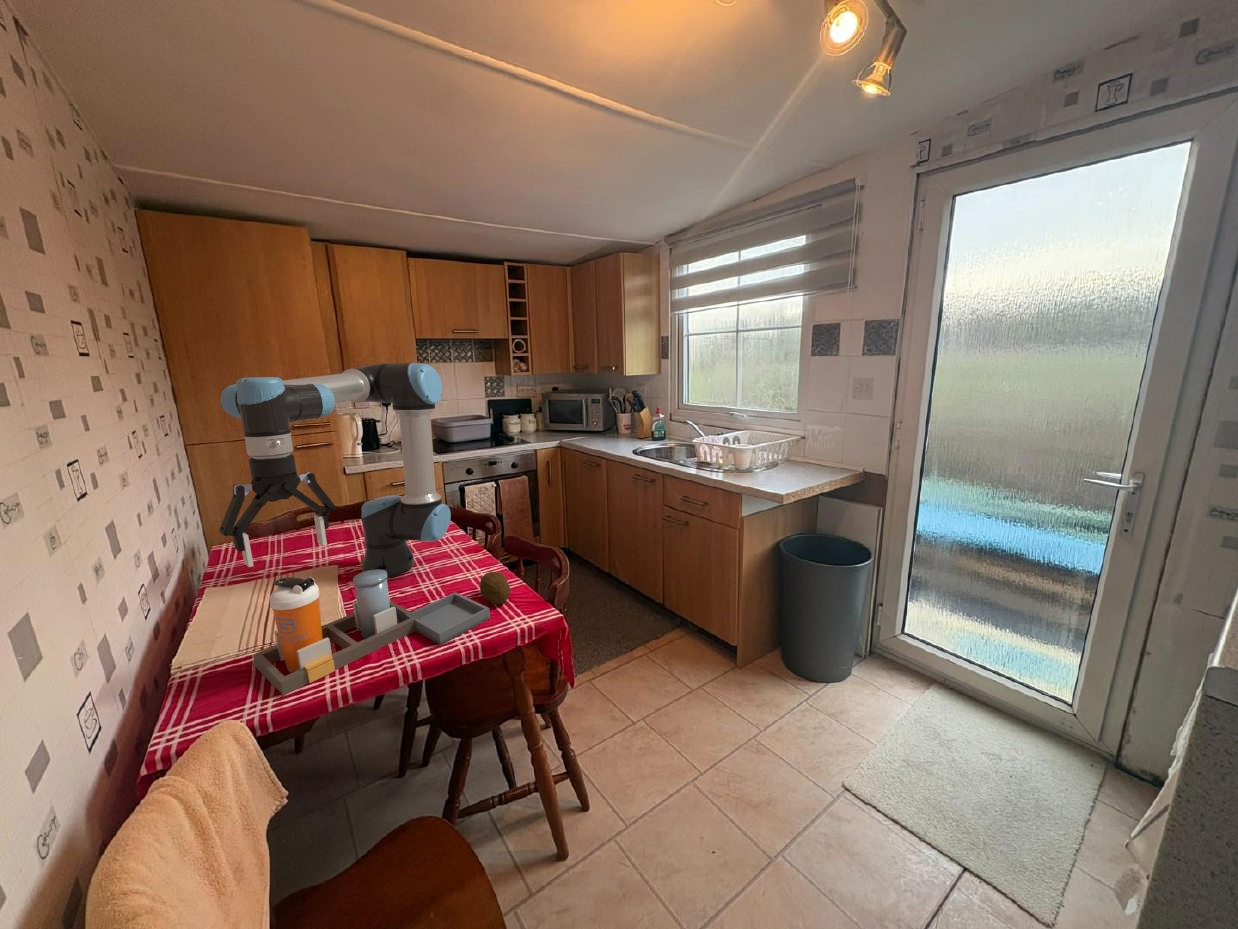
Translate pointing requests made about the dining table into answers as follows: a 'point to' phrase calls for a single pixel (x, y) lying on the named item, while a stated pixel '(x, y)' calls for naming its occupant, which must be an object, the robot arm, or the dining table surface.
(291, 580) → the shaker bottle
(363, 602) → the canister
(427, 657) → the dining table surface
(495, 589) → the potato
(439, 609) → the tray
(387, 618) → the rack
